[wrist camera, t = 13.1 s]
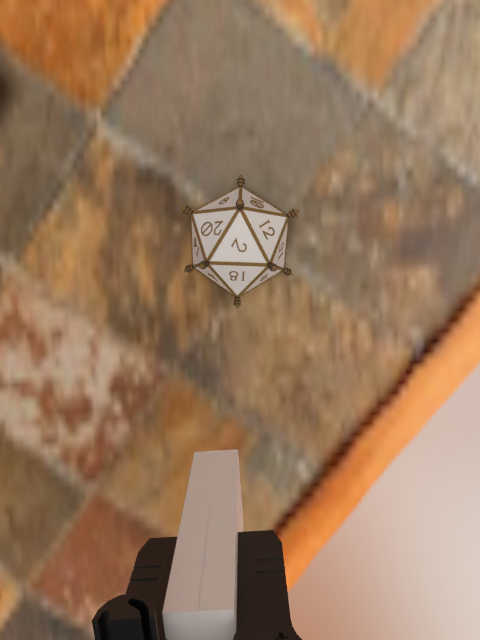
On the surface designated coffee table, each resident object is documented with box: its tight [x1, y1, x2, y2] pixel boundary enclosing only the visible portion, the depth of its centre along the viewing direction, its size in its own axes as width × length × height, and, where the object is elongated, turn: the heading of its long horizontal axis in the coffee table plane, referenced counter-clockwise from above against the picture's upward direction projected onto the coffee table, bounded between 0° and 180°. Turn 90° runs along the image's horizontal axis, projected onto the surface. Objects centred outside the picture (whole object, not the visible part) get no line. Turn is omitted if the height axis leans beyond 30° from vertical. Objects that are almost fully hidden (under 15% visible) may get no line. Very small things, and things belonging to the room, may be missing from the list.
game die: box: [180, 175, 299, 309], centre depth 34 cm, size 9×8×10 cm
